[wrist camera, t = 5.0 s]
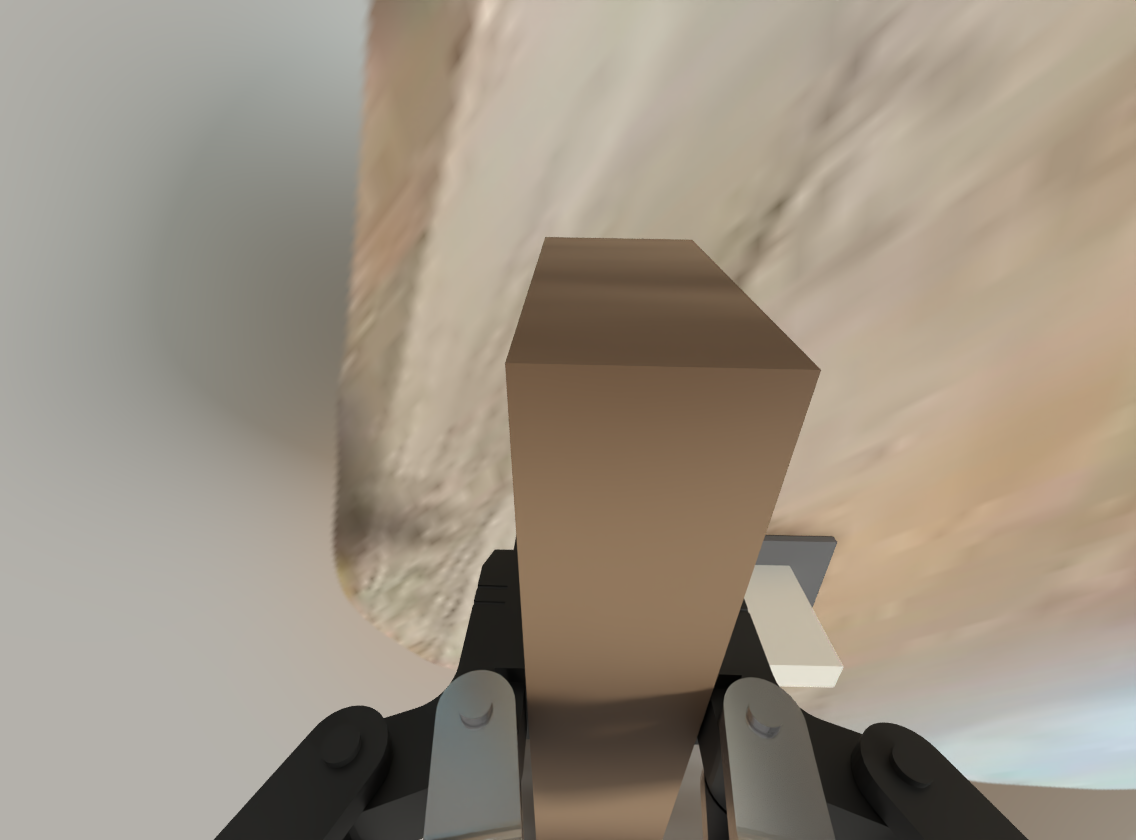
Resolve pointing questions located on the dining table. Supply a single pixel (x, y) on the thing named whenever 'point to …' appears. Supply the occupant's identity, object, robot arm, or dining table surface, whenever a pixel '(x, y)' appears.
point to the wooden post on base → (637, 519)
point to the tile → (790, 630)
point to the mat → (800, 558)
